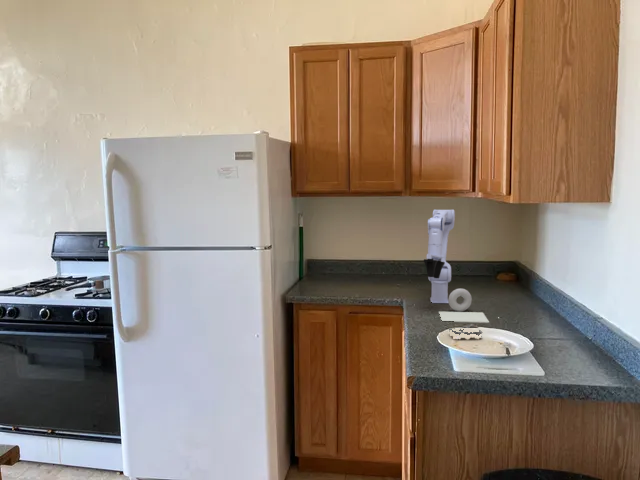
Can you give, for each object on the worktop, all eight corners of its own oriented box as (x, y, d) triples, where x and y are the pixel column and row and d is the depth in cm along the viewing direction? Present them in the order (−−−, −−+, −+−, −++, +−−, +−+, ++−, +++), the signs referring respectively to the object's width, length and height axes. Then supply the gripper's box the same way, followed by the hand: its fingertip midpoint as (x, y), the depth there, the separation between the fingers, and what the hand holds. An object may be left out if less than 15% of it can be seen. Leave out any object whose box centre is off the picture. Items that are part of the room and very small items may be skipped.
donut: (449, 312, 206) (450, 289, 204) (446, 310, 209) (447, 287, 208) (472, 312, 206) (473, 288, 205) (469, 310, 210) (470, 287, 209)
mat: (438, 312, 207) (438, 311, 207) (482, 313, 204) (482, 312, 204) (441, 321, 193) (441, 320, 193) (489, 322, 190) (489, 321, 190)
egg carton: (477, 334, 177) (477, 323, 177) (483, 341, 170) (484, 329, 169) (447, 334, 177) (447, 323, 177) (452, 341, 170) (453, 329, 169)
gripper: (438, 243, 199) (437, 276, 198) (449, 247, 212) (448, 279, 210) (422, 243, 203) (420, 276, 201) (433, 247, 215) (432, 278, 214)
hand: (433, 277), depth 206 cm, fingers open, 7 cm apart
